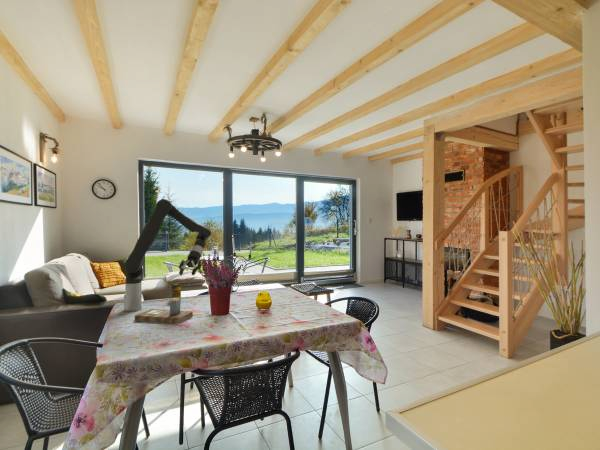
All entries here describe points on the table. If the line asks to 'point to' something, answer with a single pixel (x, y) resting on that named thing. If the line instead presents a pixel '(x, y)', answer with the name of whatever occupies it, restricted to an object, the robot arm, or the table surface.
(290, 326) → the table surface
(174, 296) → the condiment
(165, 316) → the rack foot plate
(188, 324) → the table surface
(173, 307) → the grey upright cylinder
